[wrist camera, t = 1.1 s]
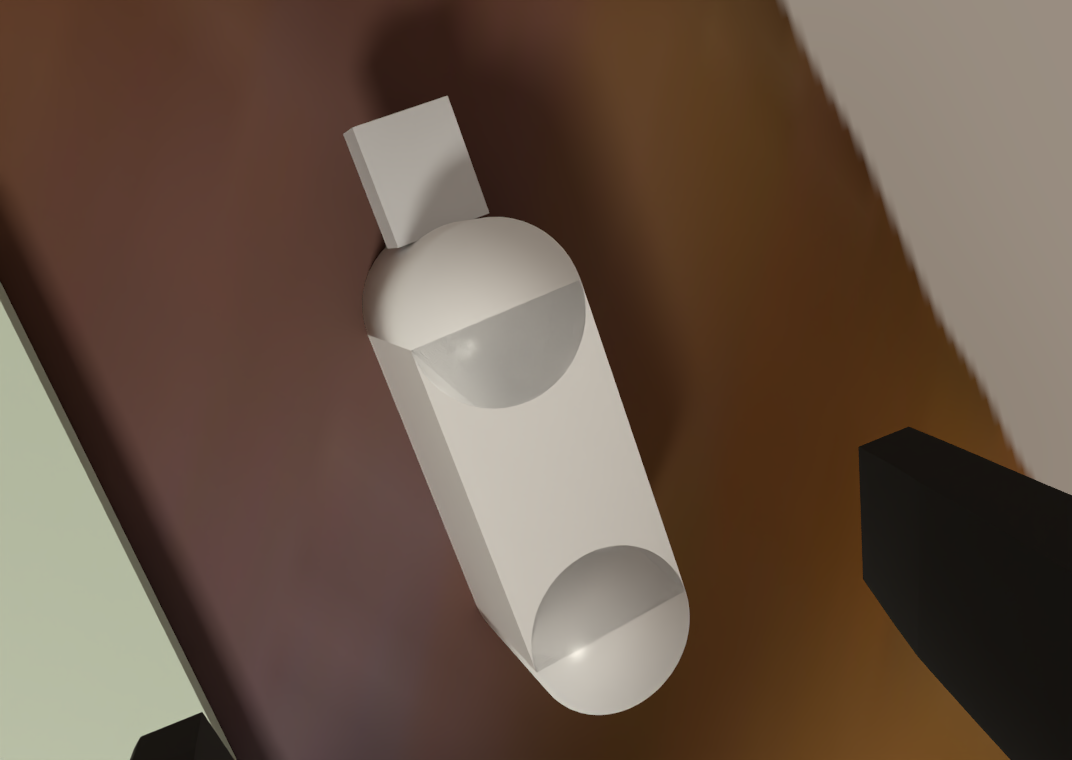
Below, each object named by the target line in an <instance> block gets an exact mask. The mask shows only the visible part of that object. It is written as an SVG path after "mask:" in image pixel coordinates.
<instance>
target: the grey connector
mask: <svg viewBox="0 0 1072 760" xmlns="http://www.w3.org/2000/svg"><path fill="white" fill-rule="evenodd" d="M343 135H344V138H345V140H346V143H347V145H348V148H349V150H350V153H351V156H352V158H353V161H354V163H355V166H356V169H357V171H358V174H359V176H360V179H361V182H362V184H363V187H364V189H365V192H366V194H367V197H368V200H369V202H370V205H371V207H372V210H373V213H374V215H375V218H376V220H377V223H378V226H379V228H380V231H381V233H382V236H383V238H384V241H385V244H386V247H385V248H384V250H383V251H382V252H381V253H380V254H379V255H378V257H377V258H376V260H375V261H374V263H373V265H372V267H371V269H370V270H369V273H368V275H367V278H366V281H365V285H364V290H363V297H362V312H363V319H364V324H365V328H366V331H367V334H368V336H369V339H370V341H371V344H372V346H373V349H374V351H375V354H376V356H377V359H378V361H379V364H380V366H381V369H382V371H383V374H384V376H385V379H386V381H387V384H388V386H389V389H390V391H391V394H392V396H393V399H394V401H395V404H396V406H397V409H398V411H399V414H400V416H401V419H402V421H403V424H404V426H405V429H406V431H407V434H408V436H409V439H410V441H411V444H412V446H413V449H414V451H415V454H416V456H417V459H418V461H419V464H420V466H421V469H422V471H423V474H424V476H425V479H426V481H427V484H428V486H429V489H430V491H431V494H432V496H433V499H434V501H435V504H436V506H437V509H438V511H439V514H440V516H441V519H442V521H443V524H444V526H445V528H446V531H447V533H448V536H449V538H450V541H451V543H452V546H453V548H454V551H455V553H456V556H457V558H458V561H459V563H460V566H461V568H462V571H463V573H464V576H465V578H466V581H467V583H468V586H469V588H470V591H471V593H472V596H473V598H474V601H475V603H476V606H477V608H478V610H479V612H480V614H481V615H482V617H483V618H484V620H485V621H486V622H487V624H488V625H489V626H490V627H491V628H492V629H493V630H494V631H495V633H496V634H497V635H498V636H499V637H500V638H501V639H502V641H503V642H504V643H505V644H506V645H507V646H508V647H509V648H510V650H511V651H512V652H513V653H514V654H515V655H516V656H517V657H518V659H519V660H520V661H521V662H522V663H523V664H524V665H525V667H526V668H527V669H528V670H529V671H530V672H531V673H532V674H533V676H534V677H535V678H536V679H537V680H538V681H539V682H540V684H541V685H542V686H543V687H544V688H545V689H546V690H547V691H548V692H549V694H550V695H551V696H552V697H553V698H554V699H556V700H557V701H558V702H559V703H561V704H562V705H564V706H566V707H567V708H569V709H571V710H574V711H577V712H579V713H584V714H589V715H607V714H613V713H618V712H621V711H624V710H627V709H630V708H632V707H634V706H636V705H638V704H640V703H641V702H643V701H644V700H646V699H647V698H649V697H650V696H651V695H652V694H653V693H655V692H656V691H657V690H658V689H659V688H660V687H661V686H662V685H663V684H664V683H665V681H666V680H667V679H668V678H669V676H670V675H671V674H672V672H673V670H674V669H675V667H676V666H677V664H678V662H679V660H680V658H681V656H682V653H683V650H684V648H685V645H686V641H687V637H688V632H689V623H690V611H689V603H688V598H687V594H686V591H685V588H684V585H683V582H682V579H681V576H680V573H679V570H678V567H677V564H676V561H675V558H674V555H673V552H672V549H671V546H670V543H669V540H668V537H667V534H666V531H665V528H664V525H663V522H662V519H661V517H660V514H659V511H658V508H657V505H656V502H655V499H654V496H653V493H652V490H651V487H650V484H649V481H648V478H647V475H646V472H645V469H644V466H643V463H642V460H641V457H640V454H639V451H638V448H637V445H636V442H635V439H634V437H633V434H632V431H631V428H630V425H629V422H628V419H627V416H626V413H625V410H624V407H623V404H622V401H621V398H620V395H619V392H618V389H617V386H616V383H615V380H614V377H613V374H612V371H611V368H610V365H609V362H608V359H607V357H606V354H605V351H604V348H603V345H602V342H601V339H600V336H599V333H598V330H597V327H596V324H595V321H594V318H593V315H592V312H591V309H590V306H589V303H588V300H587V297H586V294H585V291H584V288H583V285H582V282H581V279H580V277H579V275H578V272H577V270H576V268H575V266H574V264H573V262H572V260H571V259H570V257H569V256H568V254H567V253H566V252H565V250H564V249H563V248H562V247H561V246H560V245H559V244H558V243H557V242H556V241H555V240H554V239H553V238H552V237H551V236H549V235H548V234H547V233H546V232H544V231H542V230H541V229H539V228H537V227H536V226H534V225H531V224H529V223H527V222H524V221H521V220H517V219H513V218H506V217H485V218H478V217H481V216H483V215H486V214H489V210H488V208H487V205H486V202H485V199H484V196H483V194H482V191H481V188H480V185H479V182H478V180H477V177H476V174H475V171H474V168H473V165H472V163H471V160H470V157H469V154H468V151H467V149H466V146H465V143H464V140H463V137H462V135H461V132H460V129H459V126H458V123H457V120H456V118H455V115H454V112H453V109H452V106H451V104H450V101H449V98H448V96H445V97H442V98H439V99H436V100H433V101H430V102H427V103H424V104H421V105H418V106H415V107H412V108H409V109H406V110H403V111H400V112H397V113H394V114H391V115H388V116H385V117H382V118H379V119H376V120H373V121H371V122H368V123H365V124H362V125H359V126H356V127H353V128H351V129H350V130H348V131H347V132H346V133H344V134H343ZM475 218H478V219H475Z"/></svg>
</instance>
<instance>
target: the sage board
mask: <svg viewBox="0 0 1072 760" xmlns="http://www.w3.org/2000/svg"><path fill="white" fill-rule="evenodd" d="M201 712H203V714H204V715H205V717H206V718H207V720H208V721H209V723H210V724H211V726H212V727H213V729H214V730H215V732H216V733H217V735H218V736H219V738H220V739H221V741H222V742H223V744H224V745H225V747H226V748H227V749H228V751H229V752H230V754H231V755H232V757H233V758H234V760H237V759H236V757H235V755H234V753H233V751H232V749H231V747H230V745H229V743H228V741H227V739H226V737H225V735H224V733H223V731H222V729H221V727H220V725H219V723H218V721H217V719H216V717H215V715H214V713H213V711H212V709H211V707H210V705H209V702H208V700H207V698H206V696H205V694H204V692H203V690H202V688H201V686H200V684H199V682H198V680H197V678H196V676H195V674H194V672H193V670H192V668H191V666H190V664H189V662H188V660H187V658H186V656H185V654H184V652H183V650H182V648H181V646H180V644H179V642H178V640H177V638H176V636H175V634H174V632H173V630H172V628H171V626H170V624H169V622H168V620H167V618H166V616H165V614H164V612H163V610H162V608H161V605H160V603H159V601H158V599H157V597H156V595H155V593H154V591H153V589H152V587H151V585H150V583H149V581H148V579H147V577H146V575H145V573H144V571H143V569H142V567H141V565H140V563H139V561H138V559H137V557H136V555H135V553H134V551H133V549H132V547H131V545H130V543H129V541H128V539H127V537H126V535H125V533H124V531H123V529H122V527H121V525H120V523H119V521H118V519H117V517H116V515H115V513H114V510H113V508H112V506H111V504H110V502H109V500H108V498H107V496H106V494H105V492H104V490H103V488H102V486H101V484H100V482H99V480H98V478H97V476H96V474H95V472H94V470H93V468H92V466H91V464H90V462H89V460H88V458H87V456H86V454H85V452H84V450H83V448H82V446H81V444H80V442H79V440H78V438H77V436H76V434H75V432H74V430H73V428H72V426H71V424H70V422H69V420H68V418H67V416H66V413H65V411H64V409H63V407H62V405H61V403H60V401H59V399H58V397H57V395H56V393H55V391H54V389H53V387H52V385H51V383H50V381H49V379H48V377H47V375H46V373H45V371H44V369H43V367H42V365H41V363H40V361H39V359H38V357H37V355H36V353H35V351H34V349H33V347H32V345H31V343H30V341H29V339H28V337H27V335H26V333H25V331H24V329H23V327H22V325H21V323H20V321H19V319H18V316H17V314H16V312H15V310H14V308H13V306H12V304H11V302H10V300H9V298H8V296H7V294H6V292H5V290H4V288H3V286H2V284H1V282H0V760H130V758H131V755H132V753H133V750H134V748H135V746H136V744H137V742H138V740H139V738H140V737H141V736H144V735H146V734H148V733H151V732H153V731H156V730H158V729H161V728H163V727H166V726H168V725H171V724H173V723H176V722H178V721H181V720H183V719H186V718H188V717H191V716H193V715H196V714H198V713H201Z"/></svg>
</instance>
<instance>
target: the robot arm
mask: <svg viewBox="0 0 1072 760" xmlns="http://www.w3.org/2000/svg"><path fill="white" fill-rule="evenodd" d="M859 471H860V500H861V529H862V559H863V579H864V581H865V582H866V584H867V585H868V587H869V588H870V590H871V591H872V592H873V594H874V595H875V597H876V598H877V600H878V601H879V603H880V604H881V606H882V607H883V608H884V610H885V611H886V613H887V614H888V616H889V617H890V619H891V620H892V622H893V623H894V624H895V626H896V627H897V628H898V630H899V631H900V633H901V634H902V635H903V637H904V638H905V639H906V641H907V642H908V644H909V645H910V646H911V648H912V649H913V650H914V652H915V653H916V655H917V656H918V657H919V658H920V659H921V661H922V662H923V663H924V664H925V665H926V666H927V667H928V669H929V670H930V671H931V672H932V673H933V674H934V675H935V677H936V678H937V679H938V680H939V681H940V682H941V683H942V684H943V685H944V687H945V688H946V689H947V690H948V691H949V692H950V693H951V694H952V695H953V697H954V698H955V699H956V700H957V701H958V702H959V703H960V704H961V706H962V707H963V708H964V709H965V710H966V711H967V712H968V713H969V714H970V716H971V717H972V718H973V719H974V720H975V721H976V722H977V723H978V724H979V725H980V727H981V728H982V729H983V730H984V731H985V732H986V733H987V734H988V735H989V736H990V738H991V739H992V740H993V741H994V742H995V743H996V744H997V745H998V746H999V747H1000V749H1001V750H1002V751H1003V752H1004V753H1005V754H1006V755H1007V756H1008V757H1009V758H1010V759H1011V760H1072V495H1070V494H1067V493H1064V492H1062V491H1060V490H1058V489H1055V488H1053V487H1050V486H1048V485H1045V484H1043V483H1041V482H1039V481H1036V480H1034V479H1032V478H1029V477H1027V476H1024V475H1022V474H1020V473H1017V472H1015V471H1013V470H1010V469H1008V468H1006V467H1003V466H1001V465H999V464H996V463H994V462H992V461H989V460H987V459H985V458H982V457H980V456H978V455H975V454H973V453H971V452H968V451H966V450H964V449H961V448H959V447H957V446H954V445H952V444H949V443H947V442H945V441H942V440H940V439H938V438H935V437H933V436H930V435H928V434H925V433H923V432H920V431H918V430H915V429H913V428H910V427H907V428H904V429H902V430H899V431H897V432H894V433H892V434H889V435H887V436H884V437H882V438H880V439H877V440H875V441H872V442H870V443H867V444H865V445H862V446H860V447H859ZM130 760H234V758H233V757H232V755H231V754H230V752H229V751H228V749H227V748H226V747H225V745H224V744H223V742H222V741H221V739H220V738H219V736H218V735H217V733H216V732H215V730H214V729H213V727H212V726H211V724H210V723H209V721H208V720H207V718H206V717H205V715H204V714H203V712H201V713H198V714H196V715H193V716H191V717H188V718H186V719H183V720H181V721H178V722H176V723H173V724H171V725H168V726H166V727H163V728H161V729H158V730H156V731H153V732H151V733H148V734H146V735H144V736H141V737H140V738H139V740H138V742H137V744H136V746H135V748H134V750H133V753H132V755H131V758H130Z"/></svg>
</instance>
